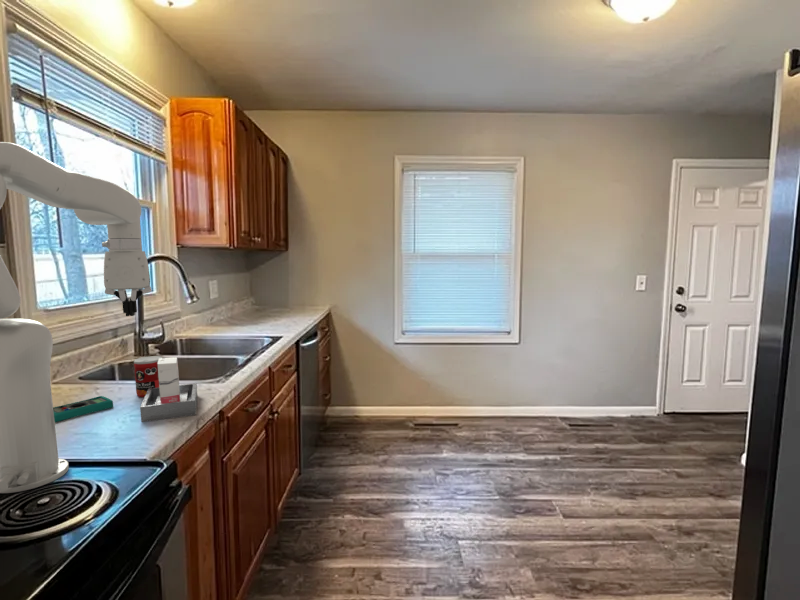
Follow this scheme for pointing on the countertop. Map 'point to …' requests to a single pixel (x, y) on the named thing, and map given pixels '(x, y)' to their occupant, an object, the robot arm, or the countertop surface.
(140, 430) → the countertop surface
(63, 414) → the digital multimeter
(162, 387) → the ink box
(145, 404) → the grey rimmed tray
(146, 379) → the canned food
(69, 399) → the countertop surface
